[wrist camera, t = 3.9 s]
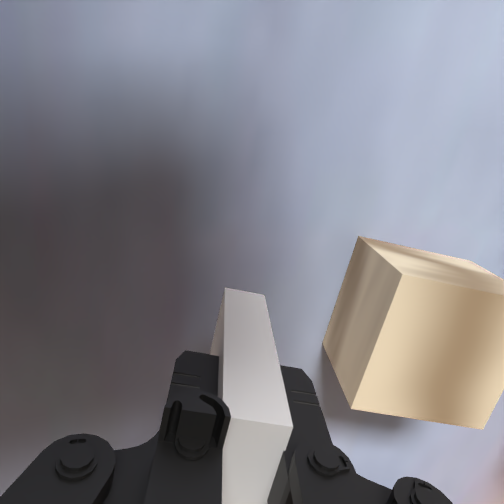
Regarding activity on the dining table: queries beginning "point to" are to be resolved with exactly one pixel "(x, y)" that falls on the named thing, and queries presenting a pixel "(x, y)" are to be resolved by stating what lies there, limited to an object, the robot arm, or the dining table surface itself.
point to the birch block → (418, 335)
